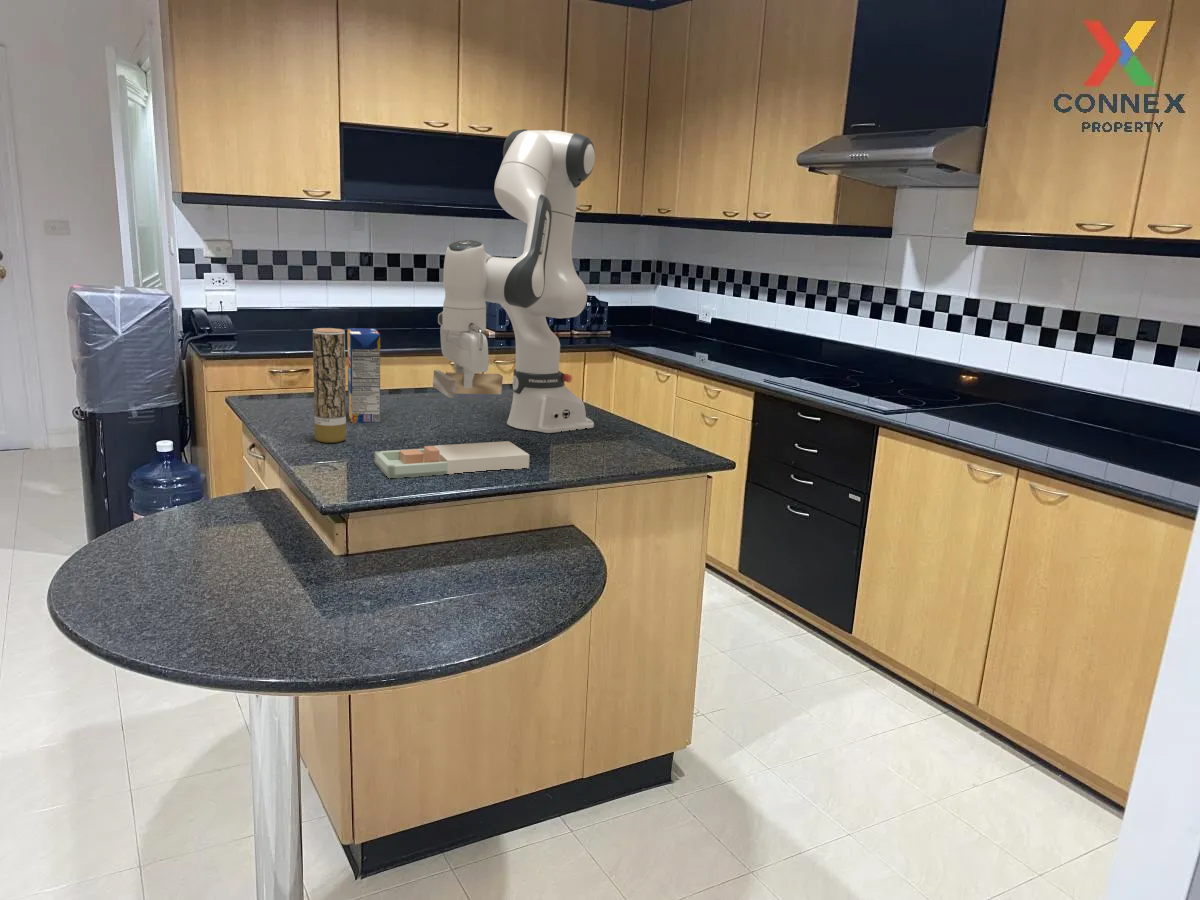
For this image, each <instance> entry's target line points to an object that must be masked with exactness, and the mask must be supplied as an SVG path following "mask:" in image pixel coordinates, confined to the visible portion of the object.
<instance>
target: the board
mask: <svg viewBox="0 0 1200 900" xmlns="http://www.w3.org/2000/svg"><path fill="white" fill-rule="evenodd" d="M434 446H435V447H436V448H437V449H438V450H439V451H440V452H439V462H443V461H446V462H447V463H448V468H447V474H449V475H455V474H454V473H462V474H464V473H463V472H475V471H486V470H500V469H514V470H523V469H522V468H527V469H530V454H529V453H528V452H526V451H525V450H523V449H522V448H520V447H519V446H517V445H515V444H514V443H512V442H511V441H510V440H506V441H489V442H473V443H472V442H471V443H470V442H469V443H458V444H457V443H456V444H441V445H440V444H438V445H434ZM475 473H476V472H475Z"/></svg>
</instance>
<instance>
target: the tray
mask: <svg viewBox="0 0 1200 900" xmlns="http://www.w3.org/2000/svg"><path fill="white" fill-rule="evenodd" d="M412 449H413V448H408V449H406V450H412ZM418 449H419V450H420V451H421V452H422V453H423V454H424V448H418ZM400 450H401V449H398V450H397V449H395V450H379V451H377V450H376V451H373V452H374V457H373V458H374V459H373V460H374V464H375V465H376V467H377V468H378V469H379V470H380V471H381V472H382V473H383V475H384V476H387V477H388V478H389V479H388V478H387V477H386V478H387V479H388V480H391V479H390V478H396V479H405V478H404V477H410V478H420V477H421V476H423V477H433V476H432V475H436V476H445V475H444V474H447V468H448V463H447V462H446V461H443V462H428V463H414V464H404V463H403V462H402V461H401V460H400ZM419 476H420V477H419Z"/></svg>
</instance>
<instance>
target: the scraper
mask: <svg viewBox="0 0 1200 900" xmlns="http://www.w3.org/2000/svg"><path fill="white" fill-rule="evenodd" d="M503 377H504V376H503V375H501V374H499V373H482V372H479V373H475V374H474V377H473V380H472V388H464V387H463V386H462V379H463V378H464V373H455V372H451V371H450V372H448V371H447V372H445V373H444V372H443V371H441V370H438V369H435V370H433V379H432V387H433V388H434V389H435V390H437V391H438V392H440V393H441V394H442V395H444V396H446V397H448V398H451V399H452V398H453V399H454V398H455V396H456V394H461V395H462V394H465V395H466V394H467V395H472V394H473V395H502V390H503Z"/></svg>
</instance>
